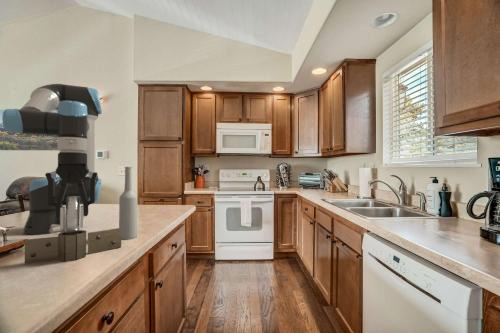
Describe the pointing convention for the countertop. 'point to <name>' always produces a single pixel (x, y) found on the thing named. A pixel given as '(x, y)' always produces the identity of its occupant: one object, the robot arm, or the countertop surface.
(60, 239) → the knuckle and fixed leaf
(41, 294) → the countertop surface
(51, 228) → the pipe connector
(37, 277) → the countertop surface
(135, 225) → the bottle
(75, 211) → the hinge pin
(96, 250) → the loose leaf
